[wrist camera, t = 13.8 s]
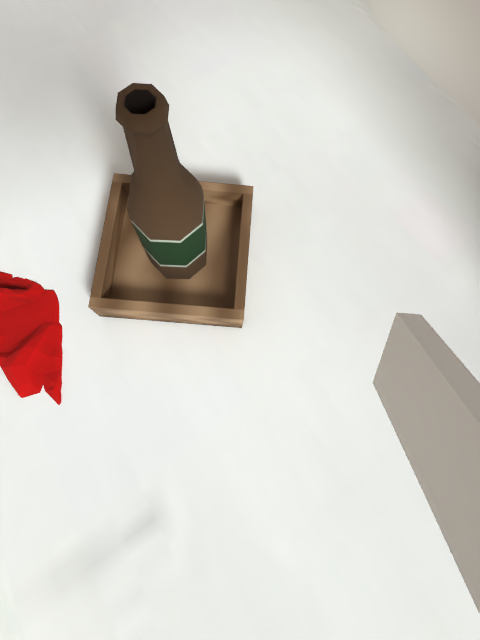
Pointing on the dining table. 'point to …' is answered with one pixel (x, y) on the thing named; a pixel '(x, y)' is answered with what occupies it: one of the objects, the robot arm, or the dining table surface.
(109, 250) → the box
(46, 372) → the cloth
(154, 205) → the beer bottle
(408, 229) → the dining table surface
